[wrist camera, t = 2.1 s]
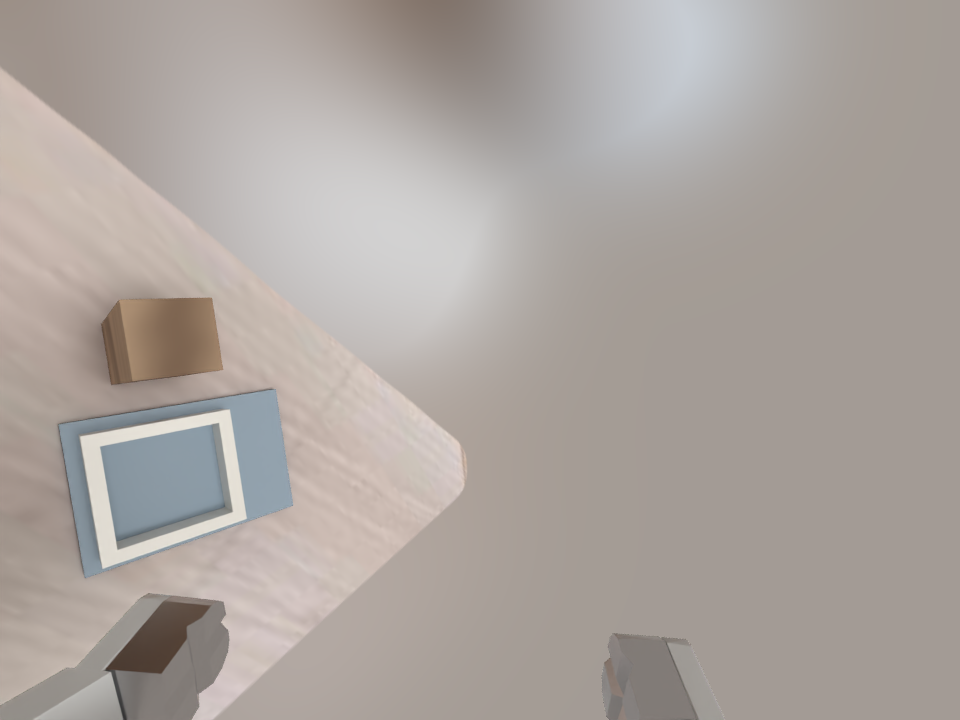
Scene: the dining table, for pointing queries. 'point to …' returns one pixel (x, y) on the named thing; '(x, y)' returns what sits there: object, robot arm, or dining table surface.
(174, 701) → the robot arm
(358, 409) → the dining table surface
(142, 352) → the walnut block
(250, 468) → the cradle
